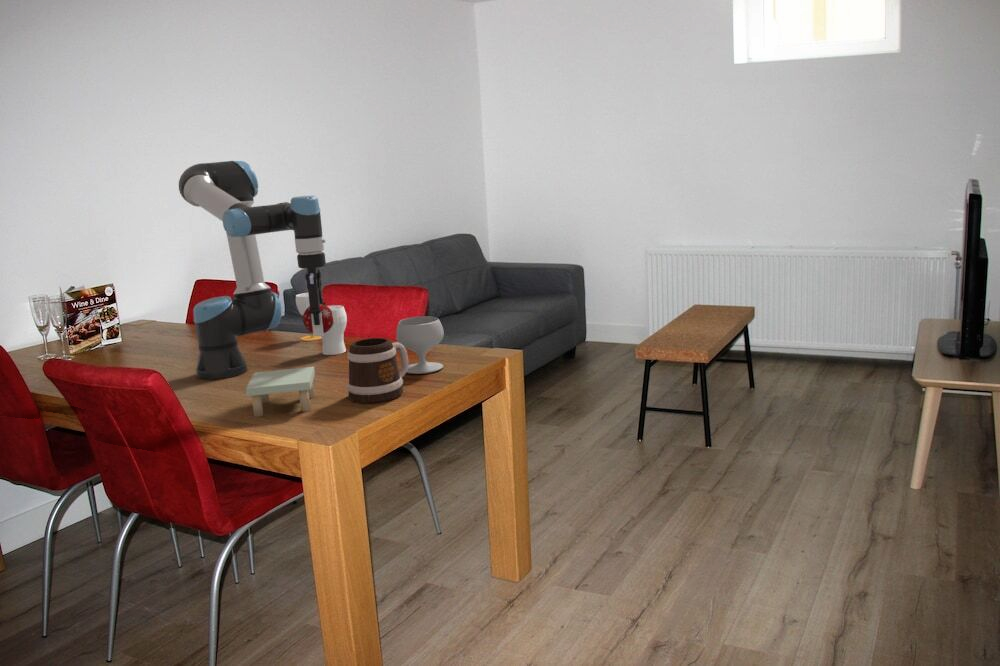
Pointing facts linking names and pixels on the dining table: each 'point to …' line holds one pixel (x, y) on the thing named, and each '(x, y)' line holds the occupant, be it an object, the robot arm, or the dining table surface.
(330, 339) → the cup
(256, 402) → the mint green side table
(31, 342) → the dining table surface
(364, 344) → the mug
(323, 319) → the christmas ornament
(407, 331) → the chalice
